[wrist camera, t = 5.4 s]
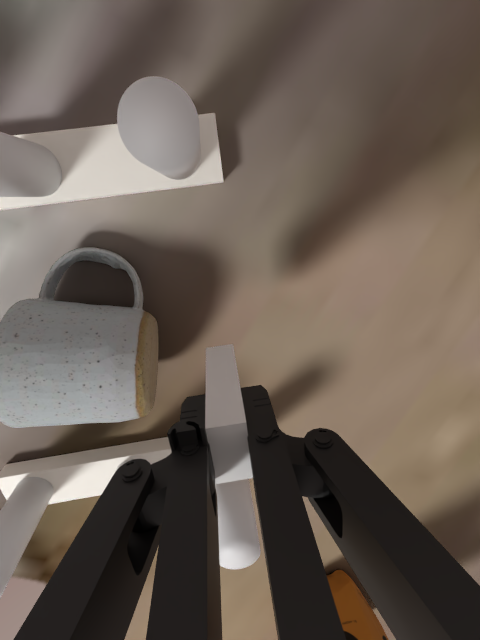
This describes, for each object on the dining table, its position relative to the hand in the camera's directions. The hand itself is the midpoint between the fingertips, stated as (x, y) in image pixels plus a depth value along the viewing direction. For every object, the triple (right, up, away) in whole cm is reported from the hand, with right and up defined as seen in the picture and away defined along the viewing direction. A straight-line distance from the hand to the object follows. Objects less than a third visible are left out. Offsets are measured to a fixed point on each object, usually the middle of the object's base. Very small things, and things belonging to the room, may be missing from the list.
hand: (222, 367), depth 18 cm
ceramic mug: (-9, +3, +6) cm, 11 cm away
